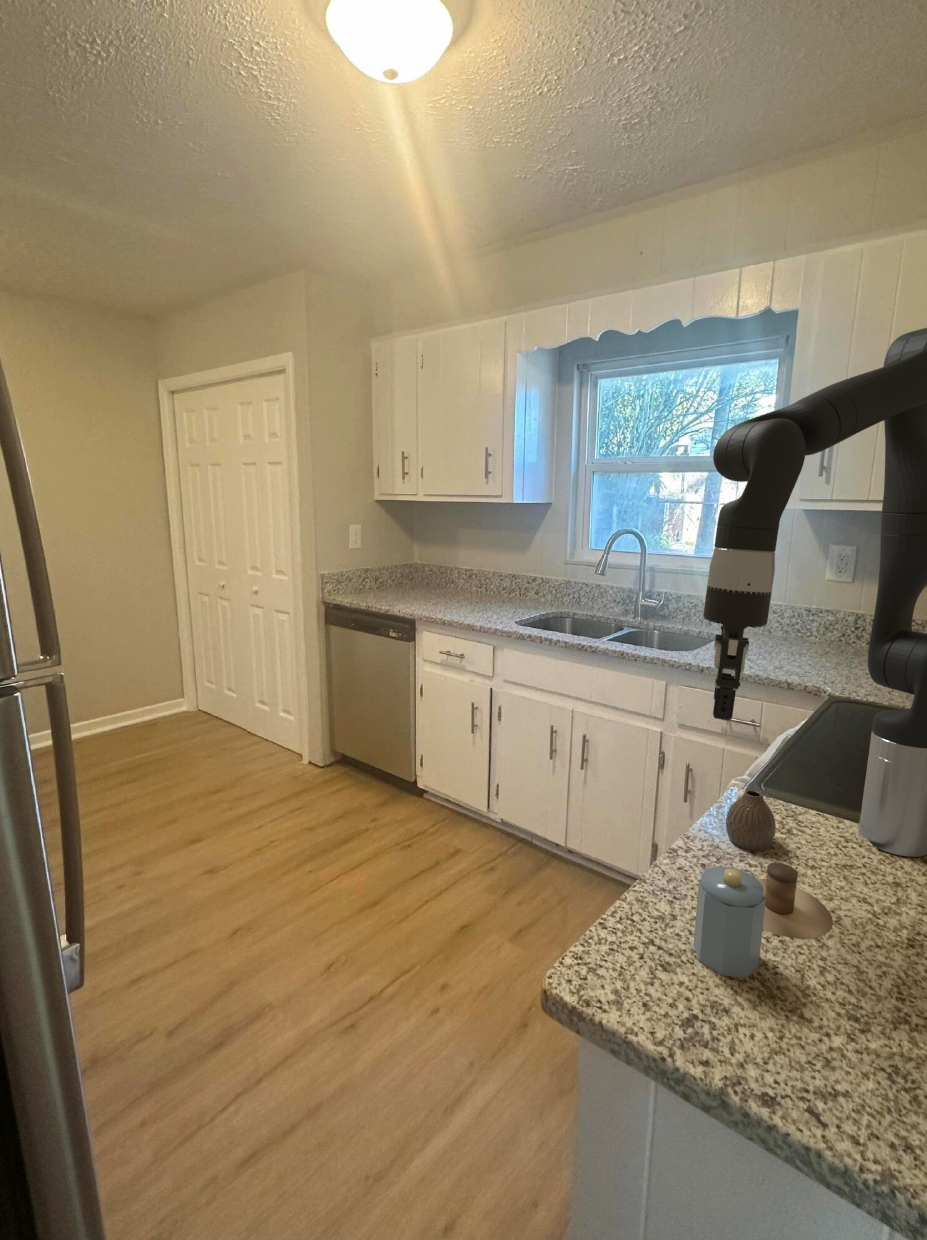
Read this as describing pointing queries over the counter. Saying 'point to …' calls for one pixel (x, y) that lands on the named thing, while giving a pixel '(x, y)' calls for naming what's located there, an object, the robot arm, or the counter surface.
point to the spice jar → (780, 888)
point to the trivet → (799, 917)
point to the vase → (751, 822)
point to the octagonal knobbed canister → (729, 921)
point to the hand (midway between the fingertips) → (722, 709)
